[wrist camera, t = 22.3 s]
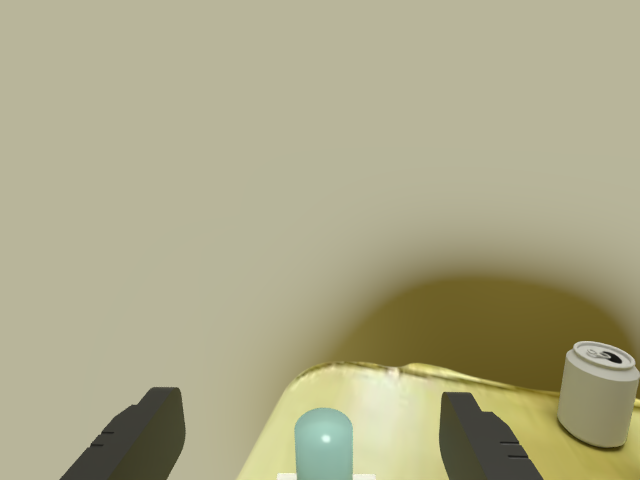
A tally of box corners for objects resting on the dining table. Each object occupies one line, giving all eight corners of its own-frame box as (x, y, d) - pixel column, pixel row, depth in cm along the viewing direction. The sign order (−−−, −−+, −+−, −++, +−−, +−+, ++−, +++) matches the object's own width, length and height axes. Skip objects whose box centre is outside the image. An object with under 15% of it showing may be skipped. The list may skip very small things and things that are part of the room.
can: (639, 457, 43) (658, 372, 40) (570, 447, 44) (584, 364, 42) (605, 415, 50) (619, 340, 47) (547, 407, 51) (558, 335, 49)
